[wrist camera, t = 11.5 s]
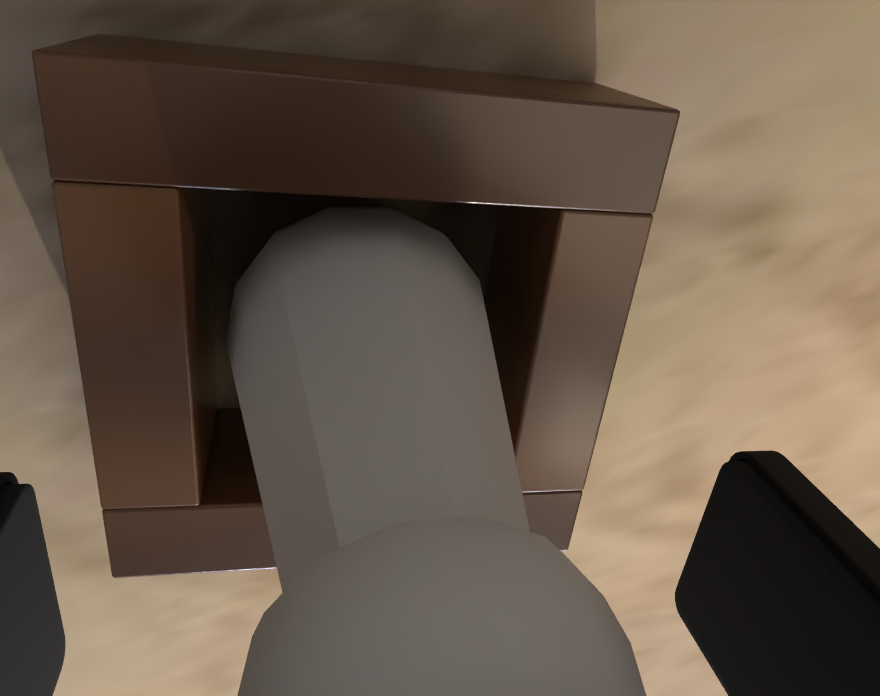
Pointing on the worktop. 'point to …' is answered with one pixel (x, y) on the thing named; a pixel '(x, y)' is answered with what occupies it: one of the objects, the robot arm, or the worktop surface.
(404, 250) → the salt shaker
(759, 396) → the worktop surface
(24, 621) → the robot arm
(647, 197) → the holder
